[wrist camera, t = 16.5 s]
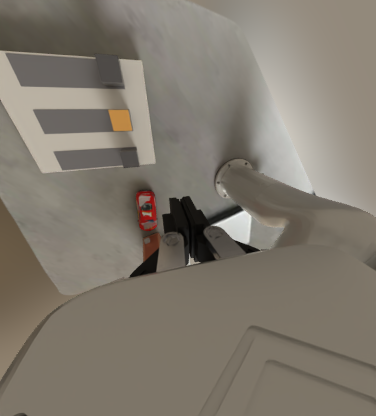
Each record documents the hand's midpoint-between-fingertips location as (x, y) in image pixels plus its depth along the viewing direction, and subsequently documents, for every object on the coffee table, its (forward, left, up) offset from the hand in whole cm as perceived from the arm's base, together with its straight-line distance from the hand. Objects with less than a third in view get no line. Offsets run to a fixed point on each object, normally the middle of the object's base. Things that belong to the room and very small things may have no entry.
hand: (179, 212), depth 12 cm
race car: (+5, +16, -28) cm, 32 cm away
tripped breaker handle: (+5, -7, -24) cm, 25 cm away
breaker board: (+11, -7, -27) cm, 30 cm away
